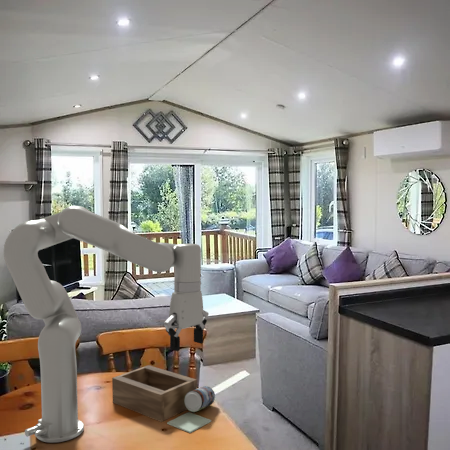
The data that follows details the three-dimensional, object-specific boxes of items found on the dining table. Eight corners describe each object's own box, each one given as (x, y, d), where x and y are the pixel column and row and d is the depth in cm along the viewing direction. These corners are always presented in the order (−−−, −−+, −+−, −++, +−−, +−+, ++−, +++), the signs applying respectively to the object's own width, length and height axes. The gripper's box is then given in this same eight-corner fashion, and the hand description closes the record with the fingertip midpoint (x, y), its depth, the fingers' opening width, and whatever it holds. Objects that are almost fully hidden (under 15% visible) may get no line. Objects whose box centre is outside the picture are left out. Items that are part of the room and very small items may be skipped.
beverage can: (187, 388, 142) (206, 376, 153) (177, 408, 143) (196, 395, 154) (204, 400, 139) (222, 388, 150) (193, 421, 141) (212, 407, 152)
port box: (161, 421, 139) (160, 394, 139) (112, 402, 154) (112, 377, 153) (196, 404, 151) (196, 379, 151) (148, 388, 165) (148, 365, 165)
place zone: (190, 433, 132) (190, 431, 132) (167, 423, 138) (167, 422, 138) (211, 421, 139) (211, 420, 139) (188, 413, 145) (188, 411, 145)
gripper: (198, 282, 146) (197, 337, 147) (156, 289, 133) (155, 350, 133) (216, 284, 142) (216, 342, 142) (175, 292, 128) (174, 355, 129)
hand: (186, 346), depth 138 cm, fingers open, 9 cm apart
